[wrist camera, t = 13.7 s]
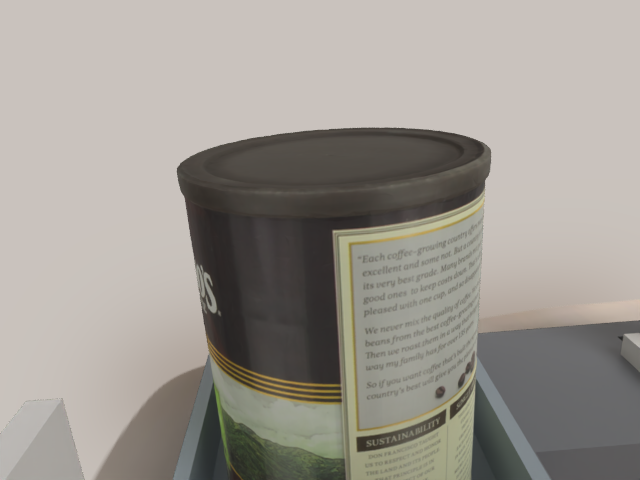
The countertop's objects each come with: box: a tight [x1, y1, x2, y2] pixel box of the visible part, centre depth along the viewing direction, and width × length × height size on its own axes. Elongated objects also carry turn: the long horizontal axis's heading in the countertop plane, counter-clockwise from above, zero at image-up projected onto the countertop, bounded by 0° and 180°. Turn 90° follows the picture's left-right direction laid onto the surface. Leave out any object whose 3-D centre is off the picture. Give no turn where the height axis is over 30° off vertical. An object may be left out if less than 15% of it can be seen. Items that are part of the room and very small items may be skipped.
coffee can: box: [177, 128, 491, 480], centre depth 20 cm, size 10×10×14 cm
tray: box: [173, 355, 551, 480], centre depth 22 cm, size 13×13×4 cm
